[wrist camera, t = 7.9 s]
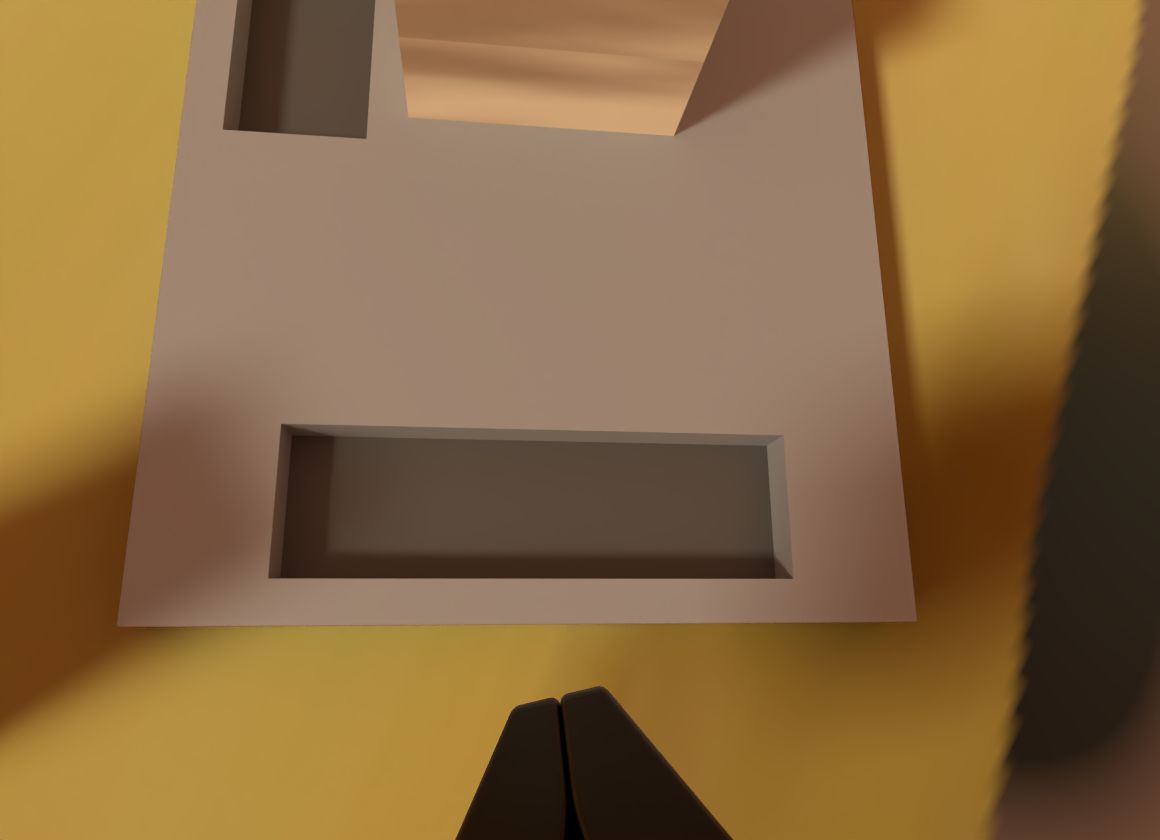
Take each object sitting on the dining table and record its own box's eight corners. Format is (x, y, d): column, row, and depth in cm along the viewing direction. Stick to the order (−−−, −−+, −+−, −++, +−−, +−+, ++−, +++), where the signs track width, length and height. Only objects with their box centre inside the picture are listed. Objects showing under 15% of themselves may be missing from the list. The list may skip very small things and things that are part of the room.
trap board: (886, 622, 21) (916, 621, 20) (143, 626, 19) (116, 626, 18) (829, 24, 26) (850, -12, 24) (222, -29, 23) (205, -73, 22)
